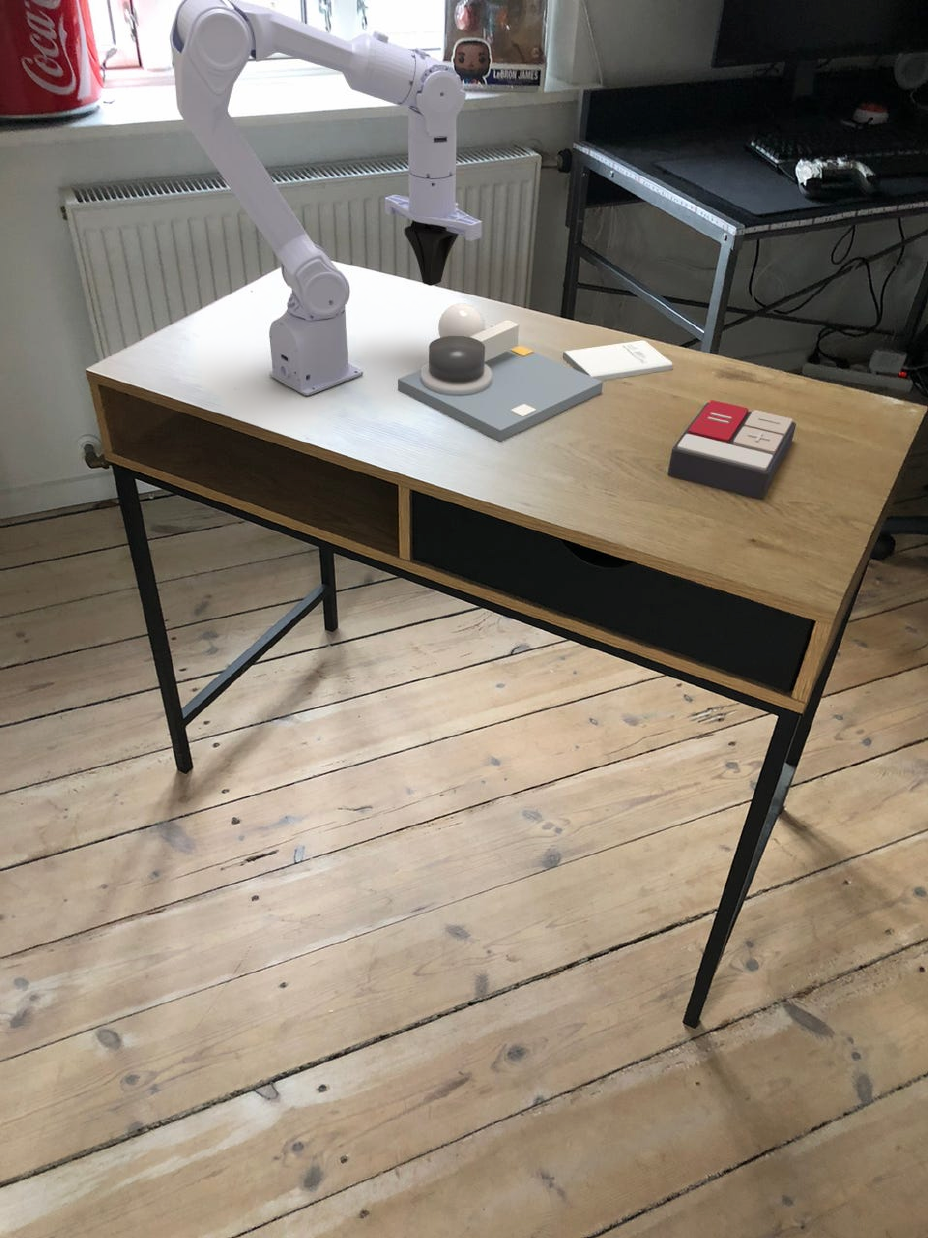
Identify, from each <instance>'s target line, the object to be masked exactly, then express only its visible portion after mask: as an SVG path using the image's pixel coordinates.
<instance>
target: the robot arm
mask: <svg viewBox="0 0 928 1238" xmlns="http://www.w3.org/2000/svg"><path fill="white" fill-rule="evenodd" d="M227 1H228V2H229V4H230V5H231V6H232V8H231V7H229V6H228V5H227V4H226V2H225V1H224V0H181V1H180V2H179V4H178V6H177V8H176V11H175V14H174V19H173V23H172V27H171V31H170V34H169V42H170V47H171V53H172V54H171V55H172V61H173V73H174V74H173V76H174V85H175V86H174V88H175V100H176V107H177V108H176V109H177V110H178V112H179V115H180V116H181V118H182V120H183V121H184V123H186V125H187V127H188V129H189V130H190V131H191V132H192V134H193V136H194V137H195V138H196V140H197V141H198V143H199V144H200V146H201V148H202V149H203V150H204V152H205V153H206V155H207V156H208V157H209V159H210V160H211V162H212V163H213V165H214V166H215V168H216V169H217V171H218V172H219V173H220V175H221V176H222V178H223V180H224V181H225V182H226V185H228V187H229V188H230V190H231V191H232V192H233V194H234V196H235V197H236V199H238V202H239V203H240V205H242V207H243V209H244V210H245V212H246V213H247V214H248V216H249V217H250V219H251V220H252V221H253V223H254V225H255V226H256V228H257V229H258V231H259V232H260V233H261V235H262V236H263V238H264V239H265V241H266V243H267V244H268V245H269V247H270V248H271V250H272V252H273V253H274V254H275V256H276V257H277V259H278V261H279V264H280V268H281V276H282V278H283V281H284V282H285V283H286V285H287V287H289V288H290V289H291V292H290V294H289V298H288V302H287V304H286V307H287V308H286V309H287V310H286V311H285V313H283V314H282V315H281V316H280V317H279V318H277V319H275V320H273V321H272V322H271V323H270V326H269V330H268V332H269V333H268V335H269V337H268V338H269V347H270V355H271V357H270V358H271V366H272V370H271V371H270V372H269V377H271V378H273V379H275V380H277V381H278V382H280V383H282V384H284V385H286V386H287V387H289V388H291V389H293V390H295V391H296V392H297V393H300V394H302V395H304V396H310V395H313V394H316V393H318V392H321V391H324V390H327V389H329V388H331V387H334V386H337V385H339V384H341V383H344V382H347V381H350V380H353V379H354V378H358V377H360V376H363V374H364V372H363V370H362V369H361V368H359V367H357V366H355V365H353V364H351V363H349V354H348V330H347V309H346V306H347V304H348V301H349V298H350V293H351V292H350V284H349V280H348V279H347V277H346V275H345V274H344V273H343V272H342V271H341V270H340V269H338V268H337V266H336V265H335V264H334V263H333V262H332V260H331V259H330V258H329V255H328V254H327V252H326V251H325V250H324V248H322V247H321V246H320V245H318V244H316V243H314V242H313V241H312V239H311V237H310V236H309V235H308V233H307V232H306V230H305V229H304V227H303V226H302V223H300V221H299V219H298V218H297V216H296V215H295V213H294V211H293V210H292V208H291V207H290V206H289V204H288V201H286V200H285V198H284V197H283V194H281V192H280V189H278V187H277V185H276V184H275V182H274V181H273V179H272V178H271V176H270V175H269V172H268V171H267V170H266V168H265V167H264V166H263V164H262V162H261V161H260V159H259V158H258V156H257V154H256V152H255V151H254V150H253V148H252V146H251V145H250V143H249V142H248V141H247V139H246V138H245V136H244V135H243V132H242V131H241V130H240V129H239V126H238V125H237V124H236V122H235V120H234V119H233V118H232V115H231V114H230V113H229V105H230V102H231V98H232V92H233V88H234V84H235V83H236V81H237V79H238V78H239V77H240V76H241V73H242V71H243V70H244V68H245V67H246V65H247V63H248V61H249V59H250V57H251V58H252V59H253V60H255V62H261V61H263V60H265V59H267V58H269V57H271V56H272V55H275V54H277V53H278V54H279V53H280V54H283V55H286V56H289V57H292V58H295V59H298V60H301V61H305V62H308V63H312V64H315V65H318V66H321V67H324V68H326V69H327V68H328V69H331V70H333V71H336V72H340V73H342V74H343V77H344V78H345V80H346V83H347V84H348V85H347V86H348V87H349V88H350V90H352V91H355V92H359V93H362V94H365V95H367V96H370V97H372V98H373V97H374V98H376V99H378V100H382V101H385V102H388V103H389V104H390V103H391V104H393V105H396V106H399V107H408V109H407V111H408V112H407V113H408V123H407V124H408V129H407V130H408V131H407V144H408V145H407V149H408V152H407V153H408V155H407V156H408V160H407V161H408V196H402V195H398V194H393V195H390V196H388V197H387V196H386V197H384V213H385V215H390V216H393V215H396V216H399V217H403V218H407V219H409V220H411V223H410V225H408V226H406V227H404V236H405V237H406V238H407V240H408V242H409V244H410V246H411V248H412V250H413V252H414V256H415V258H416V261H417V264H418V269H419V271H420V275H421V280H422V283H423V284H424V285H427V286H430V287H432V286H434V285H437V284H440V283H441V282H442V278H443V274H444V270H445V266H446V263H447V260H448V257H449V254H450V252H451V249H452V248H453V245H454V244H455V242H456V240H457V238H458V237H459V236H462V237H464V239H465V240H467V241H470V242H472V241H474V240H477V239H480V238H482V228H483V221H482V220H480V219H477V218H475V217H473V216H471V215H469V214H467V213H466V212H464V211H463V210H461V209H459V203H457V202H456V190H457V188H456V187H457V186H456V185H457V184H456V183H457V181H456V179H457V178H456V177H457V174H456V173H457V138H458V137H457V117H458V115H459V114H460V111H461V110H462V109H463V106H464V104H465V102H466V97H467V91H466V90H464V89H463V88H464V87H463V83H462V79H461V77H460V75H459V74H458V72H457V71H456V70H455V69H454V68H453V67H451V66H449V65H447V64H446V63H444V62H442V61H441V60H439V59H437V58H435V57H432V56H431V55H430V54H429V53H427V51H425V50H423V49H421V48H417V47H416V48H414V51H413V50H411V49H408V48H405V47H403V46H400V45H397V44H395V43H392V42H389V36H388V35H386V34H385V33H383V32H381V31H377V30H374V31H373V35H372V34H370V33H369V34H368V33H365V32H364V33H361V34H359V35H357V36H356V37H354V38H352V39H351V40H346V39H344V38H341V37H338V36H336V35H334V34H332V33H329V32H327V31H325V30H322V29H319V28H316V27H315V26H312V25H310V24H307V23H305V22H302V21H299V19H295V18H293V17H290V16H289V15H288V16H287V15H285V14H283V13H281V12H278V11H276V10H273V9H270V8H268V7H264V6H261V5H258V4H254V3H252V2H251V3H250V2H247V1H243V0H227Z"/></svg>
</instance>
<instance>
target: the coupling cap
mask: <svg viewBox="0 0 928 1238" xmlns="http://www.w3.org/2000/svg"><path fill="white" fill-rule="evenodd" d="M519 329H520V324H519V323H516V322H513V321H511V320H508V319H507V320H504V321H502V322H499V323H498V324H495V325H493V326H491V327H489V328H487V329H486V328H485V330H484V331H482V332H479V333H477V334H475V335H473V336H470V337H465V336H446V337H441V338H440V337H438V338H436V339H434V340H432V342H430V344H429V345H428V362H429V372H430V373H431V375H433V376H434V377H435V378H438V379H440V380H443V381H448V382H468V381H472V380H475V379H478V378H479V377H481V376H482V375H483V374H484V365H485V361H487V360H490V359H492V358H494V357H496V356H498V355H500V354H502V353H504V352H506V351H508V350H511V349H513V348H515V347H517V346H518V345H519V331H520V330H519Z"/></svg>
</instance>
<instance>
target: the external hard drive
mask: <svg viewBox="0 0 928 1238" xmlns="http://www.w3.org/2000/svg"><path fill="white" fill-rule="evenodd" d="M562 359H564V360H565V362H567V363H568V364H569V365H570V366H571V368H572V369H574V370H577V371H579V372H581V373H584V374H586V375H588V376H591V377H593V378H595V379H598V380H600V381H602V382H605V381H611V380H617V379H624V378H629V377H635V376H643V375H647V374H653V373H660V372H665V371H672V370H673V366H674V363H673V362H672V361H671V360H670V359H669V358H667V356H664V355H663V354H662V353H660V352H659V351H658V350H657V349H656V348H655V347H653V346H652V345H651V344H650V343H648V342H647V341H646V340H637V341H636V340H635V341H630V342H620V343H615V344H608V345H601V346H595V347H594V346H593V347H588V348H587V347H586V348H580V349H574V350H566V351H563V352H562ZM671 369H672V370H671Z"/></svg>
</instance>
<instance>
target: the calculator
mask: <svg viewBox="0 0 928 1238" xmlns="http://www.w3.org/2000/svg"><path fill="white" fill-rule="evenodd" d="M796 427H797V424H796V422H795V421H793V418H791V417H786V416H782V415H778V414H774V413H770V412H765V411H762V410H761V411H760V410H756V409H755V410H752V411H749V408H748V407H744V406H741V405H735V404H732V403H728V402H723V401H718V400H714V399H711V400H710V401H709V402H706V403H705V404H704V406H703V407H702V408H701V410H700V411H699V413H698V414H697V415H696V416H695V418H694V419H693V420H692V422H691V423H690V424H689V426H687V428H686V430H685V431H684V432H683V434H682V435H681V436H680V438H679V439H678V440H677V442H676V443H675V444H674V446H672V449H671V453H670V459H669V463H668V469H667V476H668V477H670V478H675V479H677V480H682V481H687V482H690V483H693V484H697V485H702V486H705V487H709V488H712V489H713V488H714V489H716V490H720V491H724V492H727V493H728V492H729V493H732V494H735V495H739V496H743V497H747V498H750V499H751V498H752V499H755V500H757V501H758V500H759V501H761V500H763V499H764V497H765V495H766V494H767V492H768V490H769V488H770V487H771V484H772V482H773V479H774V477H775V476H776V473H777V471H778V470H779V468H780V467H781V464H782V463H783V460H784V458H785V456H786V454H787V452H788V450H789V449H790V446H791V445H792V442H793V438H794V433H795V431H796Z"/></svg>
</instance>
